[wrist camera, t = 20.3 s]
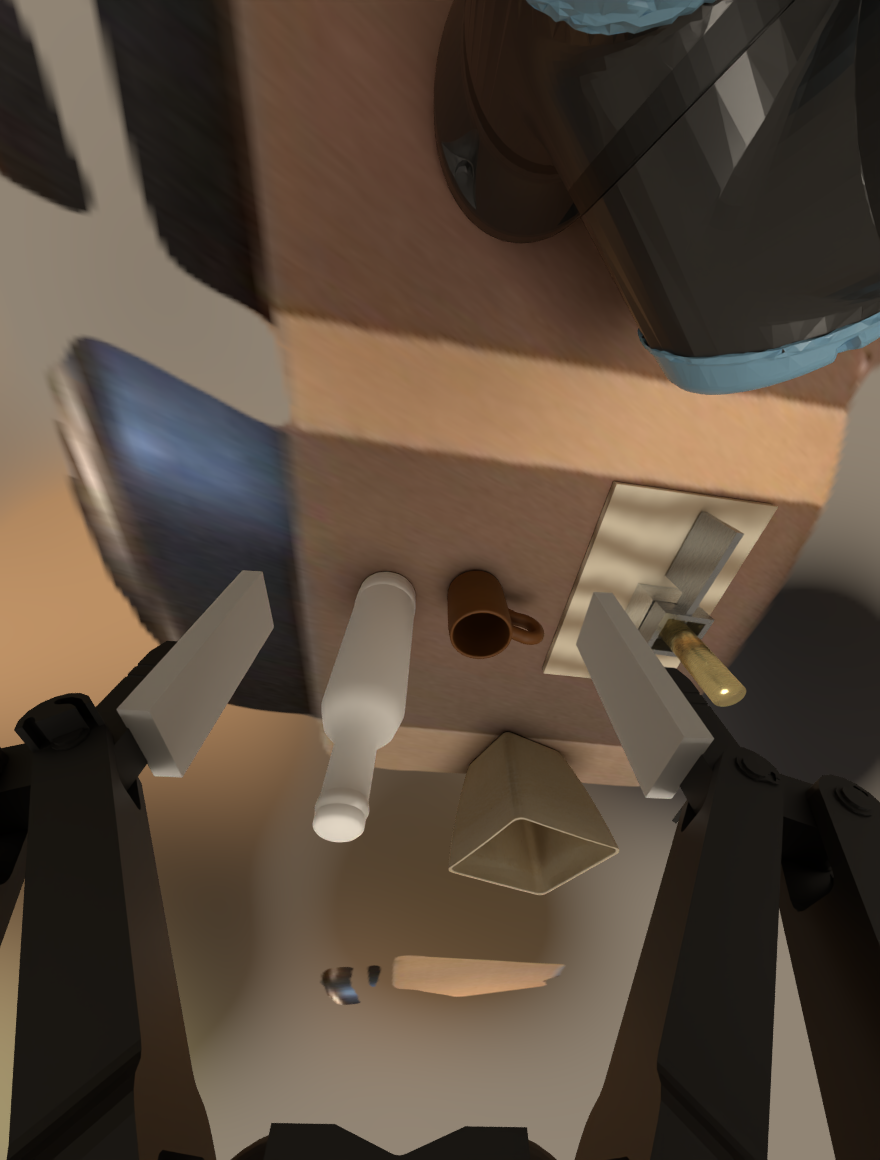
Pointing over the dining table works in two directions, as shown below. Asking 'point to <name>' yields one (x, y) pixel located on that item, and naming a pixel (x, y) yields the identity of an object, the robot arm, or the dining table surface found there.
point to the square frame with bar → (692, 579)
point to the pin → (702, 664)
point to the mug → (485, 617)
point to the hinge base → (649, 601)
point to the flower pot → (526, 820)
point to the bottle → (364, 700)
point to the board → (647, 556)
